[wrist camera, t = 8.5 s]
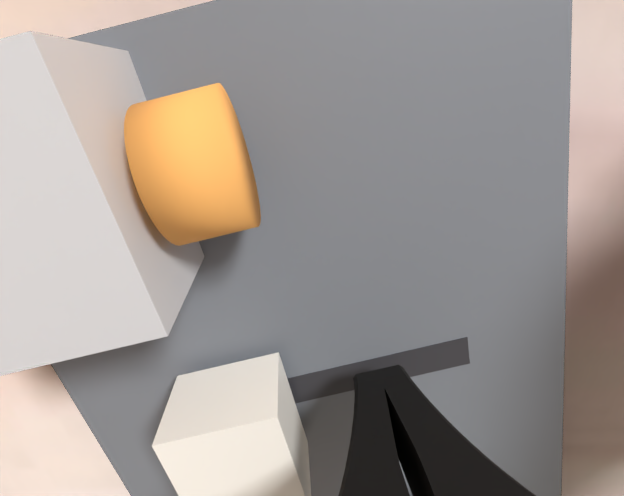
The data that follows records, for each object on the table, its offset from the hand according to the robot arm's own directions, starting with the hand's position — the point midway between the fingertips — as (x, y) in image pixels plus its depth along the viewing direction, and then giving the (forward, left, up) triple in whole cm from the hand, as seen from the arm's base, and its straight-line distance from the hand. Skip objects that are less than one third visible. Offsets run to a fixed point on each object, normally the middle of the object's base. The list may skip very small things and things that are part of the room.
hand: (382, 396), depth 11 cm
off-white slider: (+4, 0, -1) cm, 4 cm away
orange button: (+2, -7, -1) cm, 8 cm away
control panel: (+2, 0, -2) cm, 3 cm away
